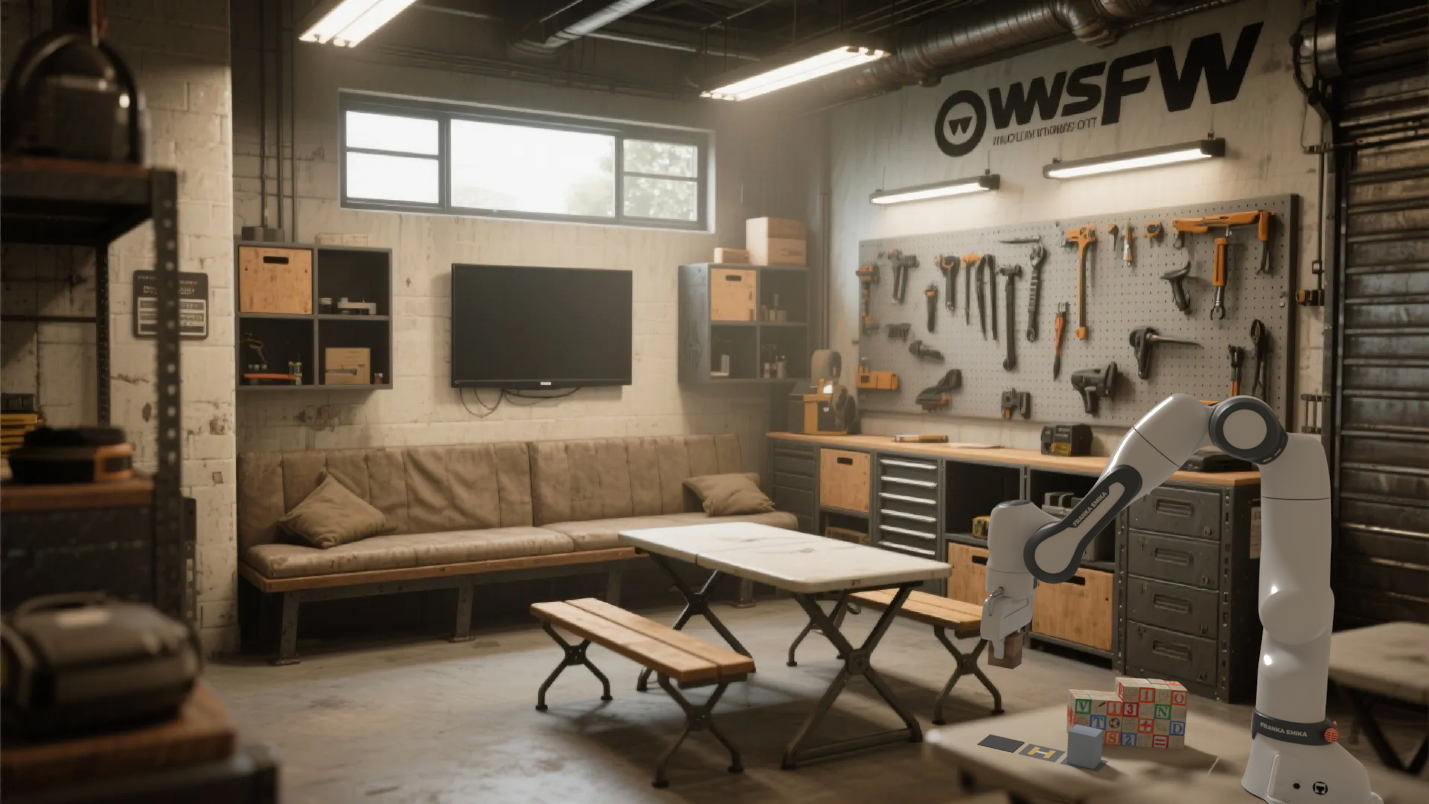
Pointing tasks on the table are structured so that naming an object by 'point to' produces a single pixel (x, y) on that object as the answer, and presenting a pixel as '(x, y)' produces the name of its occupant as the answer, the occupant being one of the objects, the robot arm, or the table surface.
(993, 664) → the walnut block
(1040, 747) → the code tile
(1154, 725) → the stack of blocks
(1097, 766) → the code tile
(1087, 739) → the slate-blue block
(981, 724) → the table surface
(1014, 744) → the rubber mat
